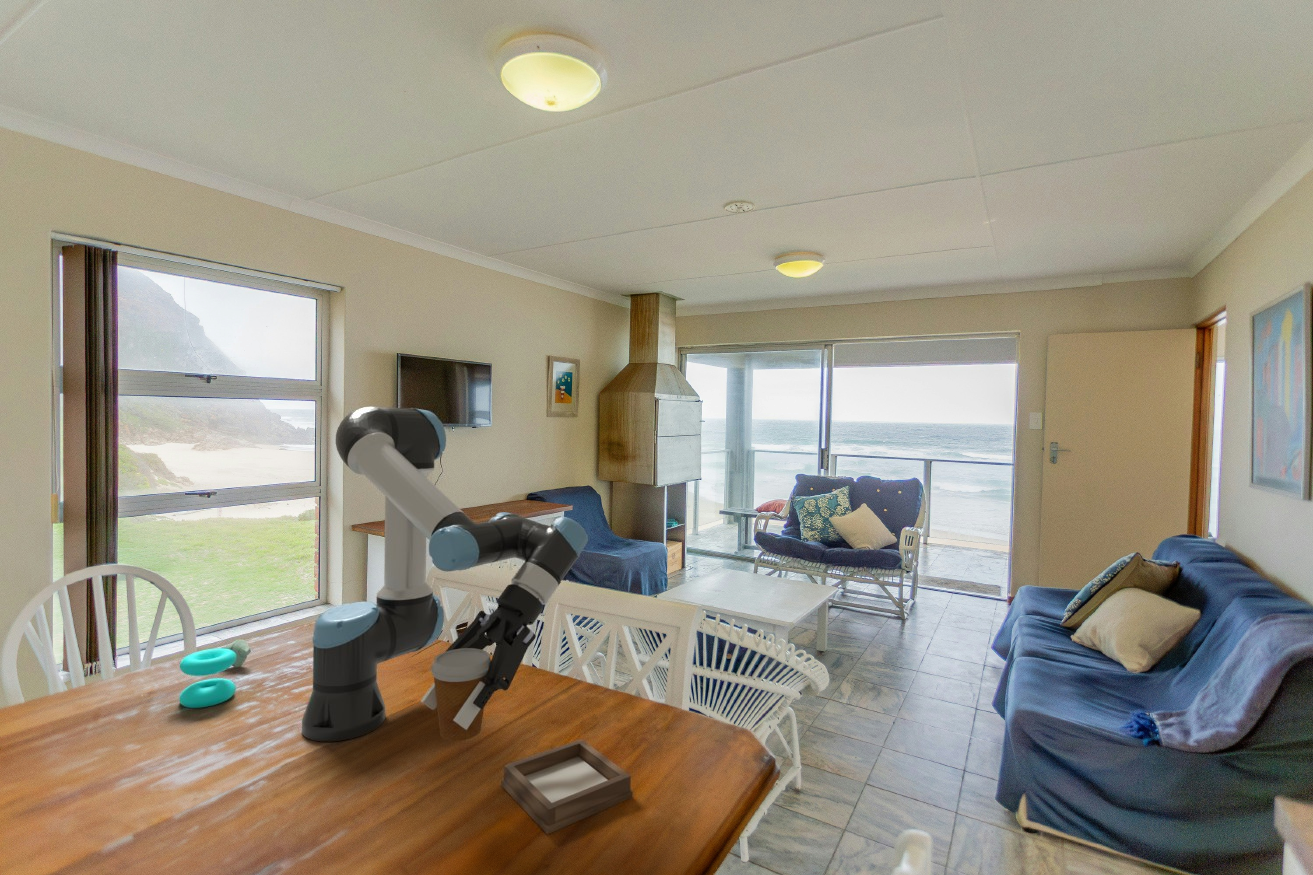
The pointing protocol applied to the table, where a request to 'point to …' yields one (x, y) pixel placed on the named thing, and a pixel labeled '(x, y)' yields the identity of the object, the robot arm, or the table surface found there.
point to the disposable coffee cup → (458, 688)
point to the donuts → (208, 689)
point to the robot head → (239, 651)
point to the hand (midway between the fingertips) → (443, 714)
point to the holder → (565, 784)
